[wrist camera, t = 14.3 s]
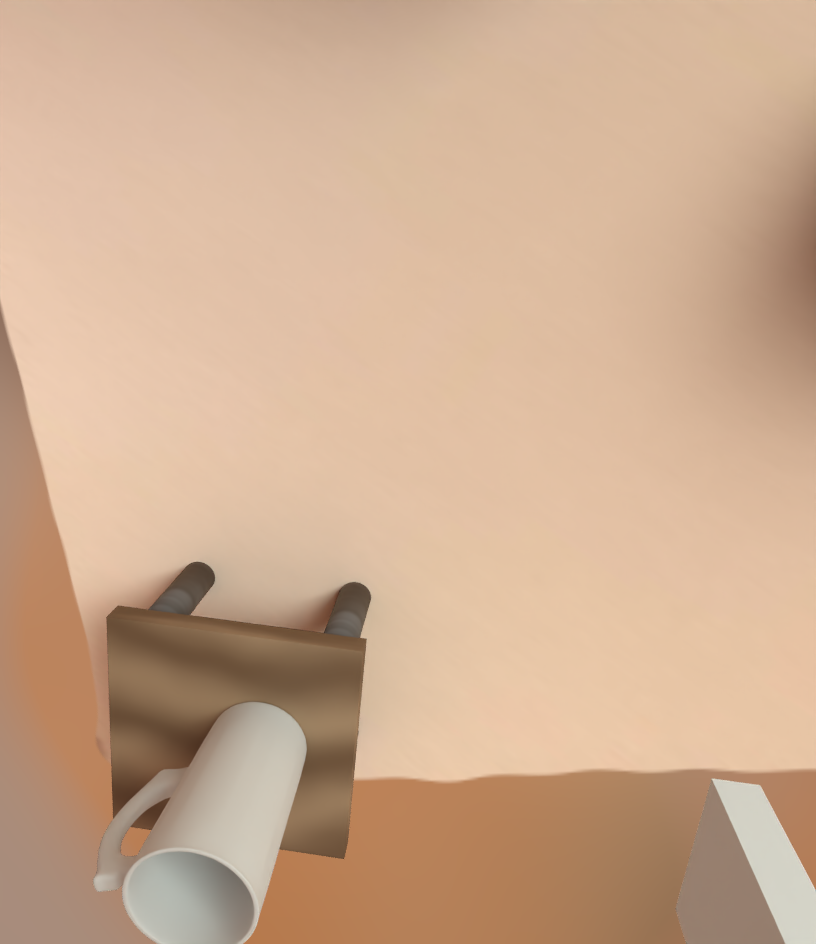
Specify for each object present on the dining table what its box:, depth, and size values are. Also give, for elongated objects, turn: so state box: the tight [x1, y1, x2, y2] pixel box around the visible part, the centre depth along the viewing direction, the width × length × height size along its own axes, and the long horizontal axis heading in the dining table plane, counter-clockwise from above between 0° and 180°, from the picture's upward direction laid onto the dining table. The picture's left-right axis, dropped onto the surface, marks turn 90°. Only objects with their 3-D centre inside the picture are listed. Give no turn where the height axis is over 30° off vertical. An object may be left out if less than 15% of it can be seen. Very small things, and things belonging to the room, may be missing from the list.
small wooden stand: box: [107, 562, 371, 859], centre depth 52 cm, size 16×16×10 cm
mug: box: [93, 702, 307, 944], centre depth 41 cm, size 10×7×12 cm, turn 96°
